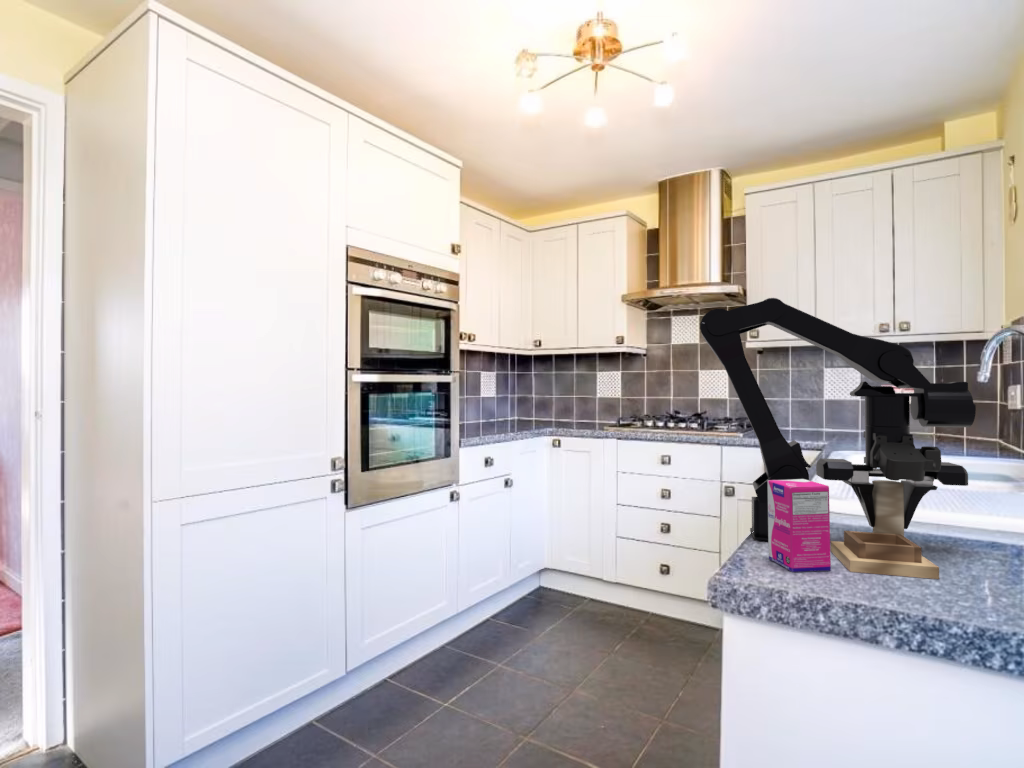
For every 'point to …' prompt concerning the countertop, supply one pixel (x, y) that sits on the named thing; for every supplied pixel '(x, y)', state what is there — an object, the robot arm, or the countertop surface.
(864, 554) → the seat board
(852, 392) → the robot arm
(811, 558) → the supplement box
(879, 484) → the stool leg
